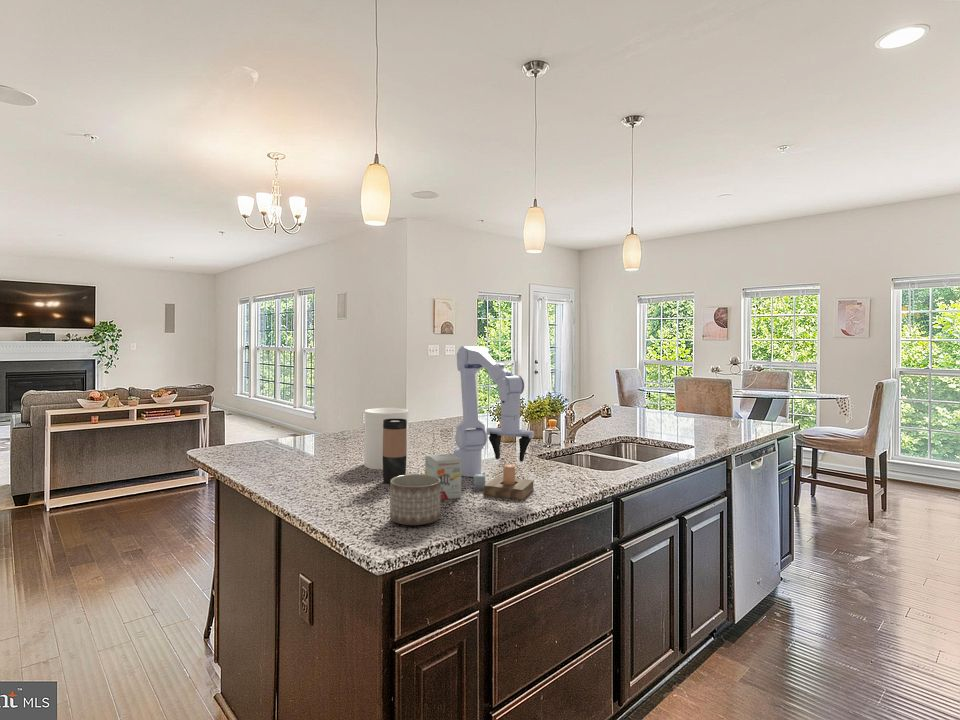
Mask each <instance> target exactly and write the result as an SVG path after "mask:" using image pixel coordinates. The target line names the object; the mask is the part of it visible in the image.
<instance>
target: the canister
mask: <svg viewBox="0 0 960 720" xmlns="http://www.w3.org/2000/svg"><path fill="white" fill-rule="evenodd" d="M409 417H410V414H409V409H407V408H398V407H379V408H378V407H376V408H368V409H365V410H364V432H363V433H364V436H363V437H364V442H363V443H364V445H363V446H364V453H363V456H364V459H363V463H364V464H363V466H364V467H365V468H367V469H371V470H378V471H379V470H382V471H383V420H385V419H405V420H406V421H407V455H406V467H407V466H408V465H409V428H410V427H409V421H410V419H409Z"/></svg>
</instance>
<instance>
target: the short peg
mask: <svg viewBox="0 0 960 720" xmlns="http://www.w3.org/2000/svg"><path fill="white" fill-rule="evenodd" d="M485 484H486V474H476V475H474V477H473V489H474V490H476V491H477V490H479V491H481V490H483V491H484V485H485Z"/></svg>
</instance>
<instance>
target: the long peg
mask: <svg viewBox="0 0 960 720" xmlns="http://www.w3.org/2000/svg"><path fill="white" fill-rule="evenodd" d="M502 473H503V474H502V477H503V484H506V485H515V478H516V465H511V464H506V465H503V470H502Z"/></svg>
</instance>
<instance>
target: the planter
mask: <svg viewBox="0 0 960 720" xmlns="http://www.w3.org/2000/svg"><path fill="white" fill-rule="evenodd" d="M389 486H390V488H389V489H390V490H389V491H390V492H389V518H390V520H391V521H392V522H394V523H396V524H400V525H406V526H419V525H420V526H421V525H427V524H431V523H434V522H436V521H439V519H440V518H441V500H440V495H441V480H440V478H438V477H436V476H432V475H425V473H421V474H420V473H417V474H416V473H412V474H411V473H410V474H406V475H401V476H397V477H394V478H392V479H391V481H390V484H389Z"/></svg>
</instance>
